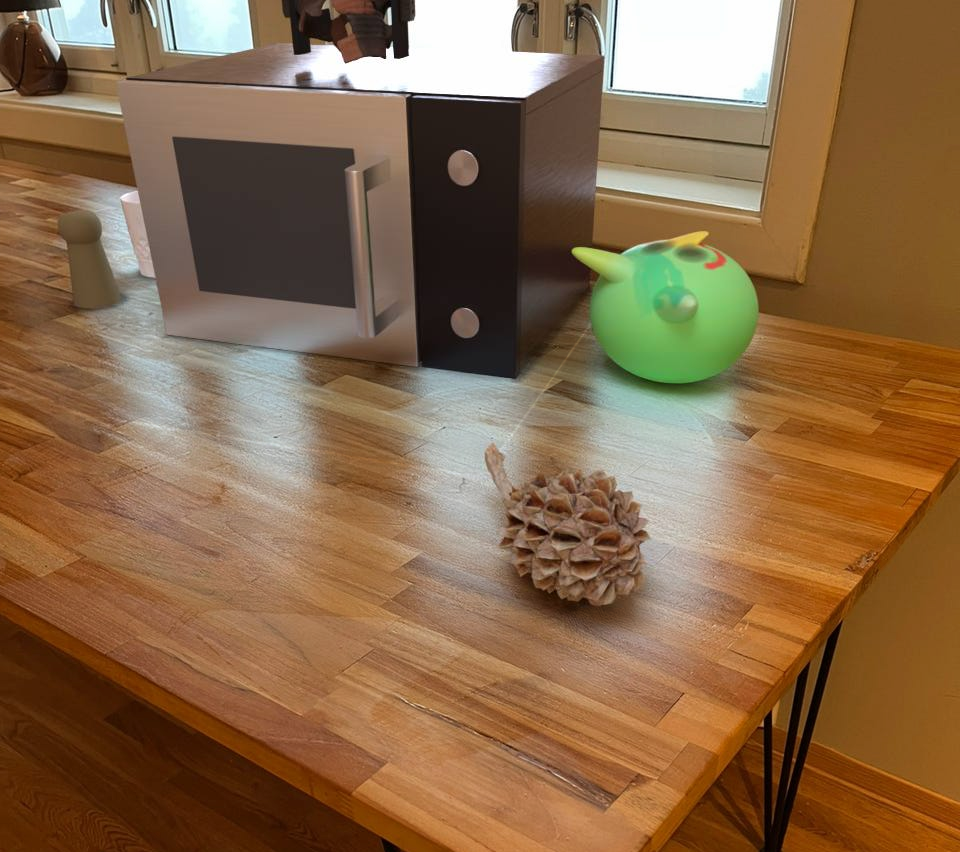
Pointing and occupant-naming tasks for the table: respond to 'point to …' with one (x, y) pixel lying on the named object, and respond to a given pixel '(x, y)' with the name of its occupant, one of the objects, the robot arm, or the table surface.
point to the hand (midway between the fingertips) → (351, 55)
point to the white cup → (137, 232)
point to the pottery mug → (365, 12)
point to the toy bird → (671, 308)
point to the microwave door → (280, 215)
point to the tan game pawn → (88, 260)
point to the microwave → (473, 182)
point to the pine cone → (572, 532)
